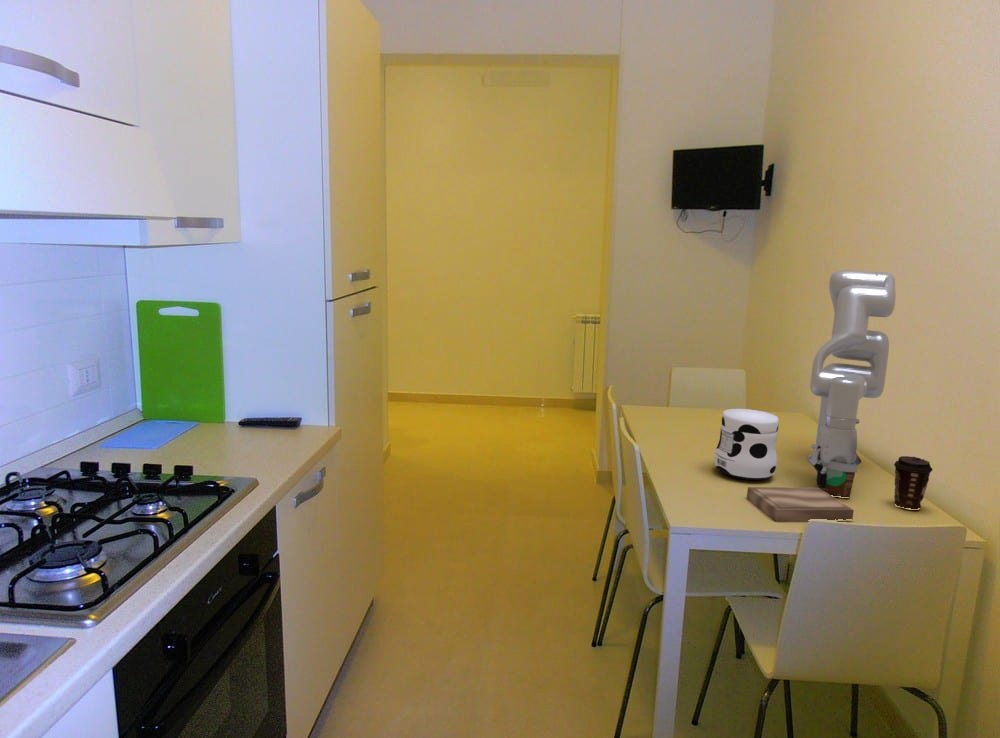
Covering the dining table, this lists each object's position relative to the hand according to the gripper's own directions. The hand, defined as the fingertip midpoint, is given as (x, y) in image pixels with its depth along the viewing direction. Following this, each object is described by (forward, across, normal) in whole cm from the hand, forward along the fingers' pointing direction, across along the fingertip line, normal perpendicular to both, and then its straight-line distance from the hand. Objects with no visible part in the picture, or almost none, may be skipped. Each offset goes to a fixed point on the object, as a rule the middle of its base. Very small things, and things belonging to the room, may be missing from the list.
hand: (831, 485), depth 200 cm
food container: (+2, +1, 0) cm, 2 cm away
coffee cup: (+2, -16, +10) cm, 19 cm away
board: (+2, +16, +12) cm, 20 cm away
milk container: (+2, +18, -15) cm, 24 cm away
